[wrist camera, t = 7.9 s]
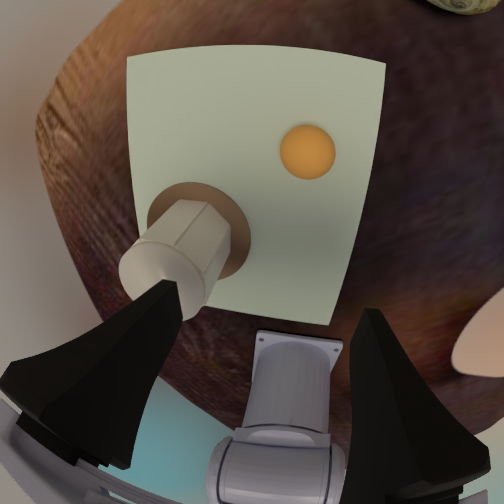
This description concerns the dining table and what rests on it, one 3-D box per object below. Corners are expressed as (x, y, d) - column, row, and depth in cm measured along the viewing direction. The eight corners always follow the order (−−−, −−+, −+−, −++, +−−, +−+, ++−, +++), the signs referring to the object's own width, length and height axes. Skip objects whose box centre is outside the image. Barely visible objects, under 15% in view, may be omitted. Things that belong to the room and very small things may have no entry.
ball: (329, 174, 16) (333, 191, 13) (280, 167, 16) (274, 183, 14) (336, 126, 14) (342, 133, 12) (284, 119, 15) (279, 124, 12)
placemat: (328, 321, 23) (328, 325, 22) (153, 291, 25) (151, 293, 24) (384, 64, 12) (385, 63, 11) (130, 57, 14) (127, 57, 13)
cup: (229, 269, 21) (204, 329, 16) (166, 258, 21) (129, 310, 16) (231, 204, 18) (199, 255, 13) (159, 197, 18) (110, 240, 14)
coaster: (248, 286, 22) (247, 288, 21) (155, 269, 23) (154, 271, 22) (254, 187, 17) (253, 189, 17) (143, 178, 18) (141, 180, 18)
